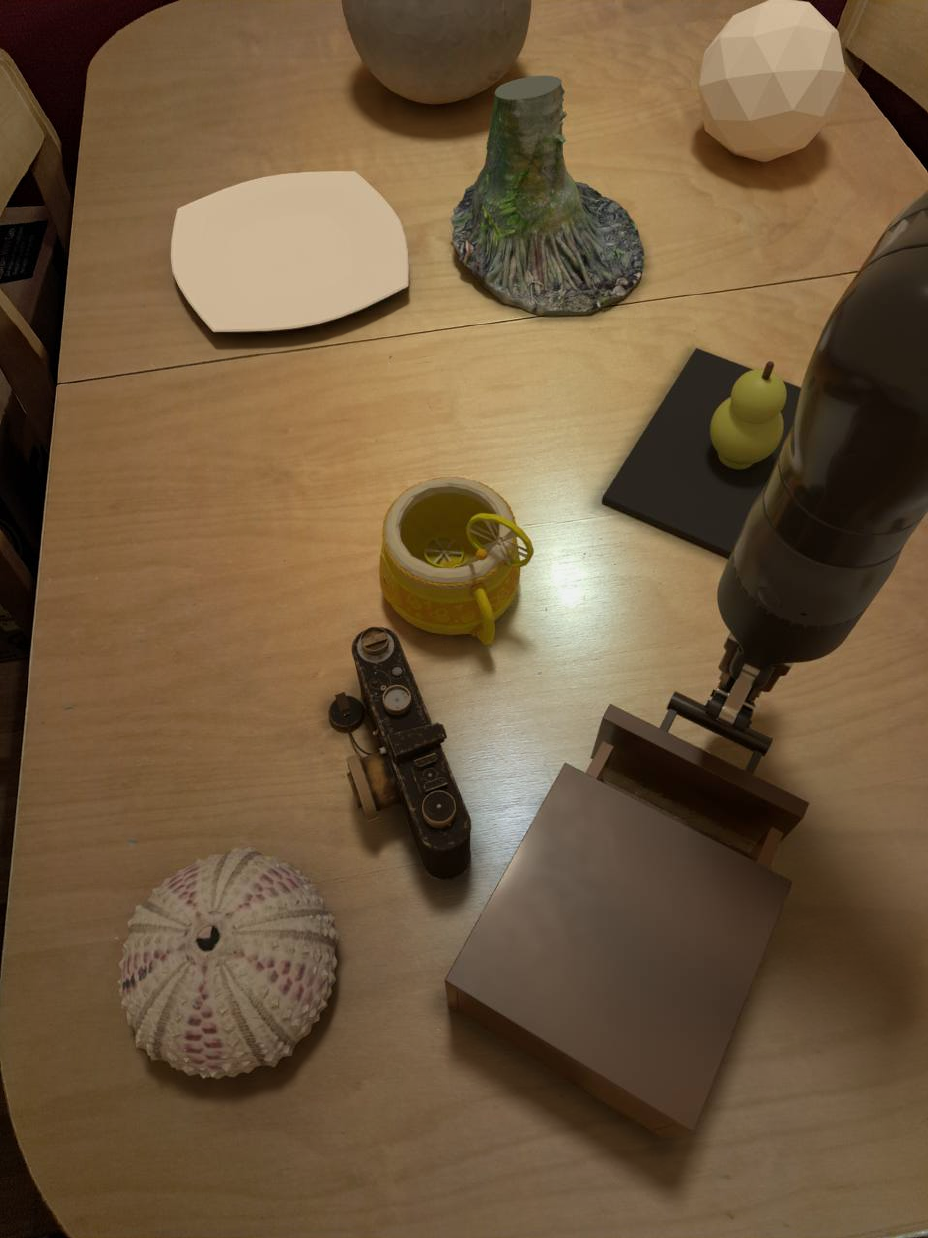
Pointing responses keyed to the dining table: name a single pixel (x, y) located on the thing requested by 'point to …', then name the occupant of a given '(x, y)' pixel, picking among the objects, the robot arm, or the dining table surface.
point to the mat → (694, 461)
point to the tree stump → (542, 215)
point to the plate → (288, 252)
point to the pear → (750, 419)
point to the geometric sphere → (771, 79)
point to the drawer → (699, 775)
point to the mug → (451, 557)
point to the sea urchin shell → (228, 964)
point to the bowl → (438, 44)
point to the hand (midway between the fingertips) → (728, 704)
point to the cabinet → (619, 951)
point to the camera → (404, 755)
